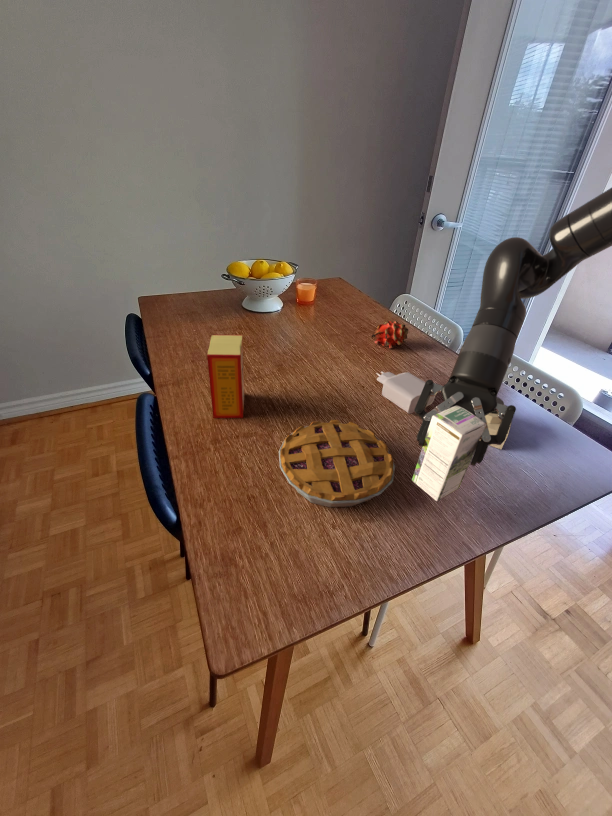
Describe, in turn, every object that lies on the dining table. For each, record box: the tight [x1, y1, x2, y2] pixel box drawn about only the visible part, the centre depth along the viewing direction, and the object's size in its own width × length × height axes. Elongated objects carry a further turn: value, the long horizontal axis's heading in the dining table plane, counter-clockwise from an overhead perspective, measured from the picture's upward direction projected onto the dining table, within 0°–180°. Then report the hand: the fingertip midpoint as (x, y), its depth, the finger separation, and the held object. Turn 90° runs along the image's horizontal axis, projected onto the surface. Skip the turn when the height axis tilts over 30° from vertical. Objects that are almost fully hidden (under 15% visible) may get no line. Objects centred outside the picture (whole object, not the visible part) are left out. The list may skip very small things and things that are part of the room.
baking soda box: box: [206, 334, 245, 419], centre depth 87 cm, size 10×6×16 cm
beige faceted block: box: [480, 413, 513, 450], centre depth 89 cm, size 10×11×6 cm
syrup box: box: [411, 405, 486, 502], centre depth 63 cm, size 6×6×14 cm
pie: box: [278, 419, 396, 508], centre depth 75 cm, size 22×22×5 cm
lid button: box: [491, 396, 505, 414], centre depth 87 cm, size 4×4×2 cm
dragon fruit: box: [371, 319, 409, 350], centre depth 120 cm, size 8×8×12 cm
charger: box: [375, 370, 436, 415], centre depth 99 cm, size 5×9×15 cm
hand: (445, 454), depth 62 cm, fingers closed on syrup box, 7 cm apart
